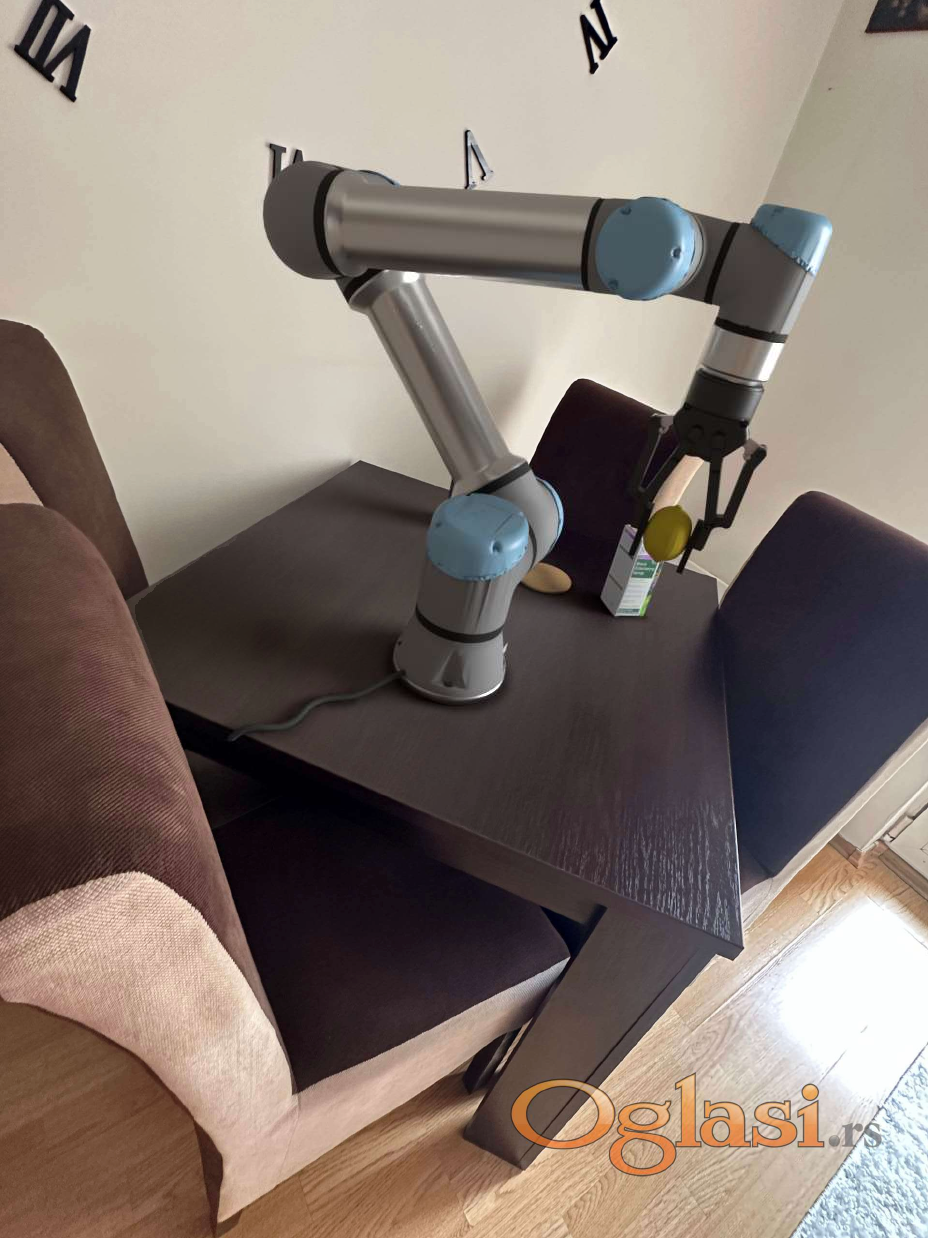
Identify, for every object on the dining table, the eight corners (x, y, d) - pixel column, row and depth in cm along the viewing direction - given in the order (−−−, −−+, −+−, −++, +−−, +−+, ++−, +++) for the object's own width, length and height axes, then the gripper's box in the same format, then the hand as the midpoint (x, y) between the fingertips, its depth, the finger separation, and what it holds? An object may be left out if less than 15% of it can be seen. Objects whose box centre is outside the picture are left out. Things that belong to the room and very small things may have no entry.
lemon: (673, 557, 86) (697, 501, 81) (679, 577, 81) (705, 519, 76) (632, 547, 85) (654, 491, 81) (636, 567, 81) (659, 509, 76)
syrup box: (613, 617, 108) (643, 540, 100) (598, 597, 113) (625, 522, 105) (643, 617, 110) (674, 541, 102) (627, 597, 115) (655, 524, 107)
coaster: (545, 599, 109) (545, 597, 109) (503, 570, 114) (504, 568, 114) (581, 585, 115) (582, 583, 115) (541, 559, 121) (541, 557, 120)
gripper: (819, 394, 71) (730, 574, 84) (655, 347, 76) (594, 525, 88) (821, 406, 65) (726, 599, 78) (643, 355, 70) (580, 545, 82)
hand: (656, 559), depth 83 cm, fingers closed on lemon, 6 cm apart
